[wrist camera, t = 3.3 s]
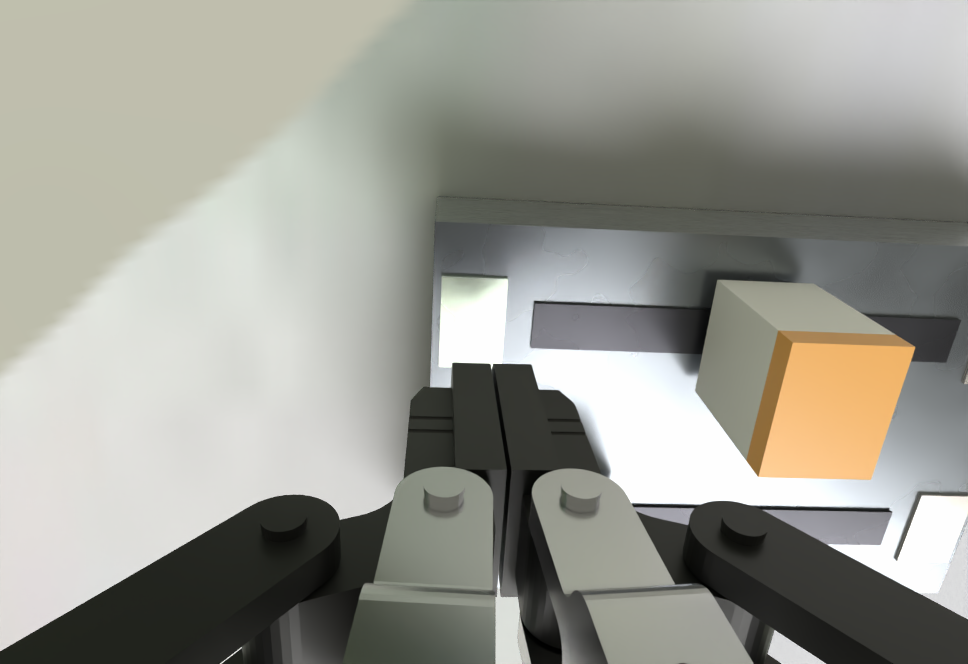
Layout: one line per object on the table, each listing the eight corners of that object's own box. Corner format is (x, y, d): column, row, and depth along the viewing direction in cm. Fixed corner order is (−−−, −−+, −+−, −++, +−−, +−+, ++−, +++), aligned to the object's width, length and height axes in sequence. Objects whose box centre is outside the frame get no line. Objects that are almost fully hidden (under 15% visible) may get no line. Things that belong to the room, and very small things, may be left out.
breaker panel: (988, 223, 19) (1082, 252, 16) (880, 529, 23) (940, 595, 21) (437, 196, 18) (435, 222, 15) (427, 521, 22) (424, 589, 19)
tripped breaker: (813, 283, 16) (915, 347, 12) (785, 393, 17) (871, 480, 14) (717, 279, 16) (792, 342, 12) (695, 391, 17) (758, 476, 13)
